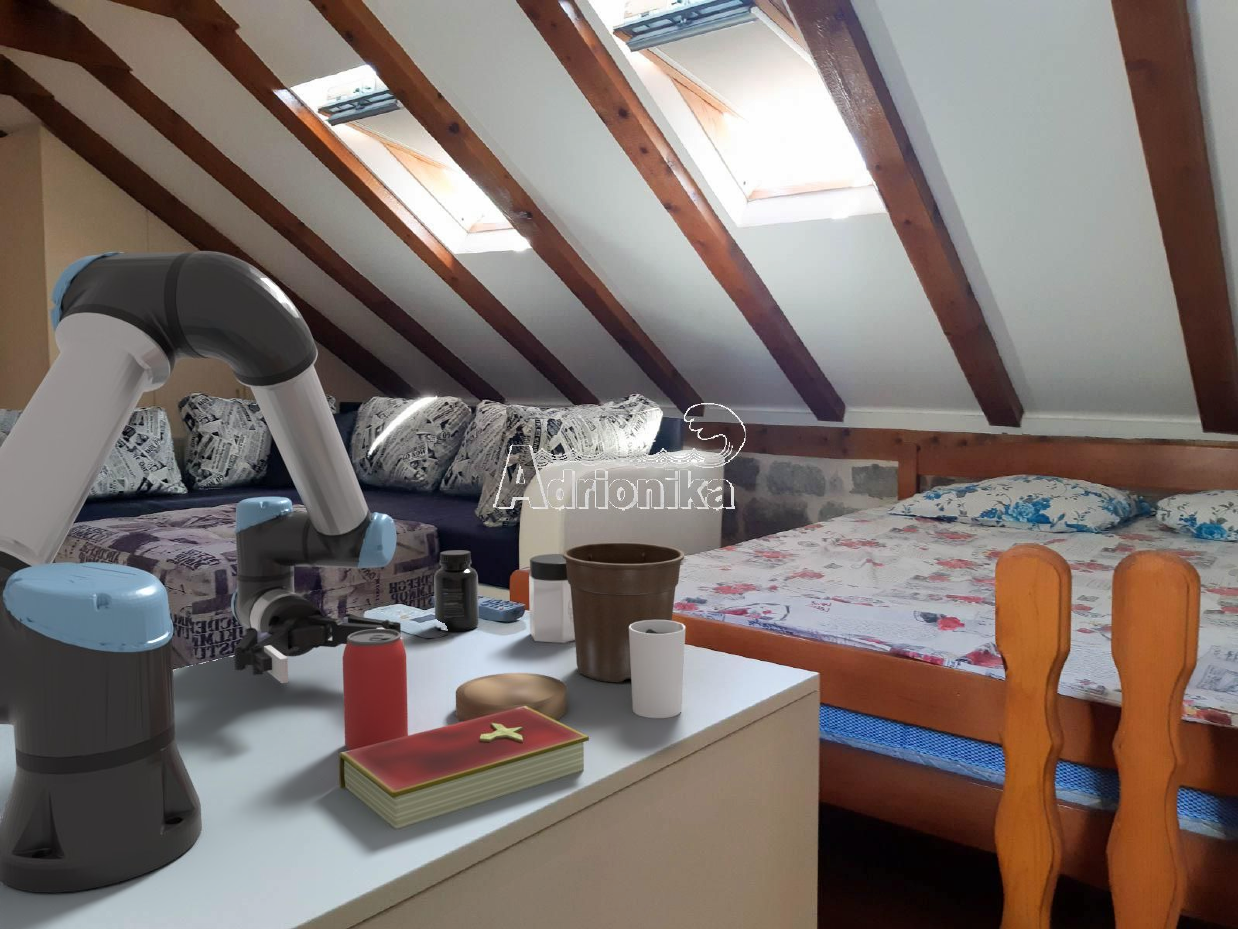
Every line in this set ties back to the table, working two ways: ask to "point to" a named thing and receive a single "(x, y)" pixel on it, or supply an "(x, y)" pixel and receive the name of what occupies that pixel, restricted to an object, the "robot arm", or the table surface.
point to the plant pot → (617, 600)
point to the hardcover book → (460, 764)
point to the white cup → (657, 667)
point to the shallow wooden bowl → (511, 695)
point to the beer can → (374, 688)
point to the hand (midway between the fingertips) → (344, 660)
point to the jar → (550, 600)
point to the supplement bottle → (456, 591)
